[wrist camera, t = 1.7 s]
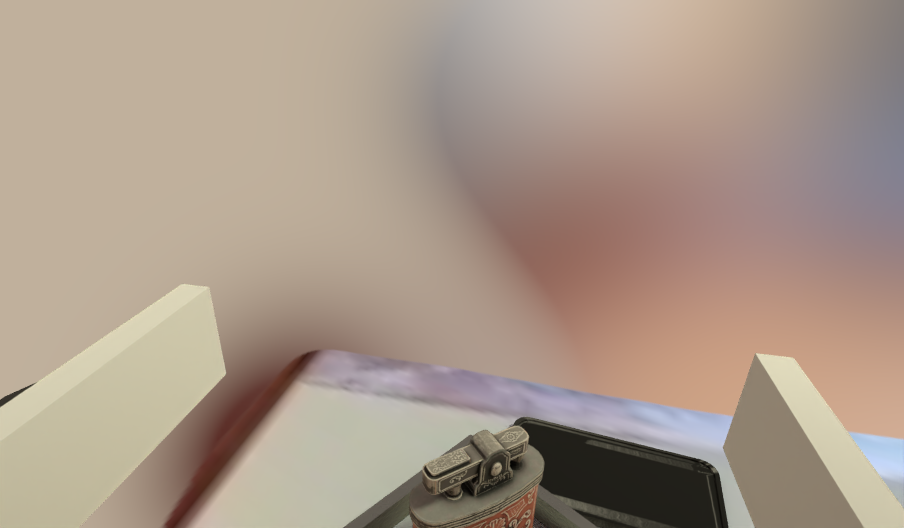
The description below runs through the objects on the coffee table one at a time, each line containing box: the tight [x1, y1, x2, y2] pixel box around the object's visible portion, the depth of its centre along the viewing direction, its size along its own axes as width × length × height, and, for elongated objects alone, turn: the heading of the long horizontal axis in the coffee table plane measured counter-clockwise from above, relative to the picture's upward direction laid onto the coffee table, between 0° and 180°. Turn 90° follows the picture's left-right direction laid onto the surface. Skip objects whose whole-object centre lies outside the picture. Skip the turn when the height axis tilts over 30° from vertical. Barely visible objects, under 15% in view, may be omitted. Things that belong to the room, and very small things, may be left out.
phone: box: [513, 417, 728, 528], centre depth 36 cm, size 8×1×15 cm
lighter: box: [409, 426, 544, 528], centre depth 28 cm, size 8×3×10 cm, turn 120°
